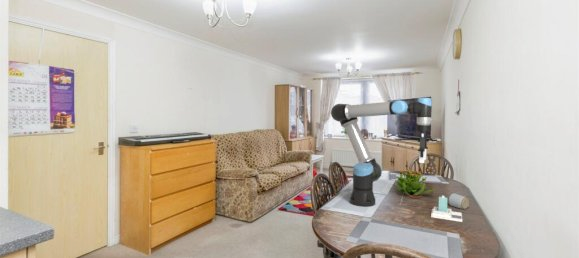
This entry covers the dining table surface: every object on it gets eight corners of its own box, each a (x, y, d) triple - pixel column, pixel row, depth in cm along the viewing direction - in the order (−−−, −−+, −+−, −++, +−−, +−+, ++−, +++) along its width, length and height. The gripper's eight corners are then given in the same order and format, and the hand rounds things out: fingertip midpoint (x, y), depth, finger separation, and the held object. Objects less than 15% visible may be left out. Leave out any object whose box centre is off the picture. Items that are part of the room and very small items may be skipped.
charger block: (438, 213, 155) (438, 196, 155) (438, 211, 159) (439, 194, 159) (446, 214, 154) (447, 197, 153) (446, 212, 157) (447, 195, 157)
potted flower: (437, 195, 196) (438, 169, 195) (433, 204, 176) (433, 175, 175) (398, 189, 209) (399, 165, 209) (390, 197, 189) (391, 170, 189)
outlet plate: (431, 217, 153) (431, 212, 153) (432, 210, 163) (432, 205, 163) (462, 222, 146) (462, 216, 146) (461, 214, 157) (461, 210, 156)
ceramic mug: (462, 210, 164) (462, 197, 164) (448, 206, 171) (448, 193, 171) (472, 208, 169) (473, 195, 169) (458, 204, 176) (459, 191, 176)
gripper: (429, 125, 156) (428, 164, 157) (432, 124, 177) (431, 159, 178) (414, 125, 159) (413, 163, 160) (418, 124, 181) (417, 158, 182)
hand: (422, 161), depth 169 cm, fingers open, 13 cm apart
